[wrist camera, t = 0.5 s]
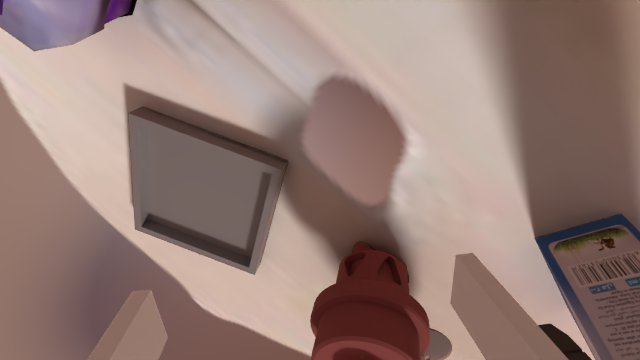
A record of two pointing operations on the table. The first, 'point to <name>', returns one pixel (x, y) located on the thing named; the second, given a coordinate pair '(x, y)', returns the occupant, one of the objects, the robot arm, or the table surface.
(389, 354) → the mechanical component
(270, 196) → the charcoal tray
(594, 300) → the milk carton
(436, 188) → the table surface
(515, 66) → the table surface
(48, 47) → the potion bottle
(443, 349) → the wine glass
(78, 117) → the table surface
